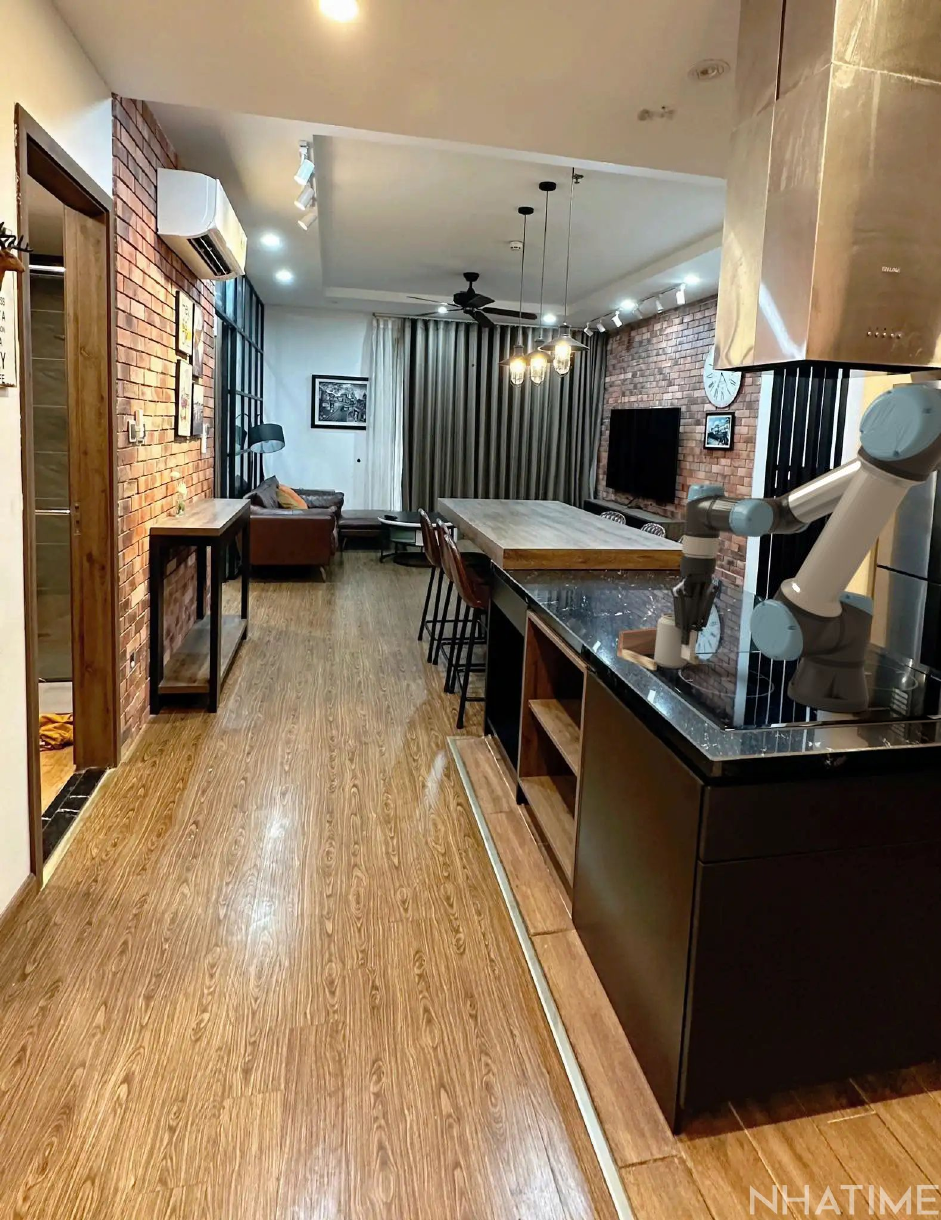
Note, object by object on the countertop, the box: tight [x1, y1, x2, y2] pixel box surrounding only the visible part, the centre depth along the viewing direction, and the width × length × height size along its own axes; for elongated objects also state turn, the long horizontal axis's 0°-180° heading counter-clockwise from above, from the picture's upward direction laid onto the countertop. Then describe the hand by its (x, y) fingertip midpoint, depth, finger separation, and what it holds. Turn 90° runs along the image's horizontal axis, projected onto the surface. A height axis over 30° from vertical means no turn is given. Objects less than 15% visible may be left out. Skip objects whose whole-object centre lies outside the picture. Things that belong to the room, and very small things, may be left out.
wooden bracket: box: [616, 627, 700, 671], centre depth 182 cm, size 12×14×6 cm
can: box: [653, 611, 688, 669], centre depth 178 cm, size 8×8×12 cm
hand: (687, 658), depth 174 cm, fingers closed
